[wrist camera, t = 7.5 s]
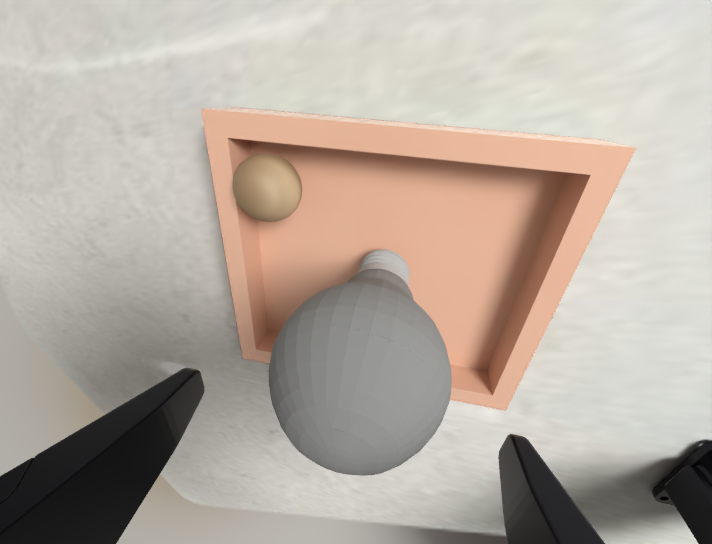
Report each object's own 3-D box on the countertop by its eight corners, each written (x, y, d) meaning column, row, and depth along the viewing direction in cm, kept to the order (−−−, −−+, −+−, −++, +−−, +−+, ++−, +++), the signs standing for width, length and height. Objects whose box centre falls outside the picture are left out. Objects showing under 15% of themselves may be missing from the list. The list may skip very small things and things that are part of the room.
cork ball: (310, 151, 14) (286, 163, 12) (311, 213, 16) (289, 236, 13) (249, 145, 14) (212, 155, 12) (256, 206, 16) (224, 227, 13)
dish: (600, 139, 12) (636, 147, 10) (496, 377, 19) (505, 410, 17) (232, 107, 14) (200, 108, 12) (259, 333, 21) (242, 358, 19)
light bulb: (312, 234, 16) (185, 394, 8) (423, 196, 14) (410, 365, 6) (357, 320, 19) (296, 511, 10) (457, 299, 16) (483, 524, 8)
